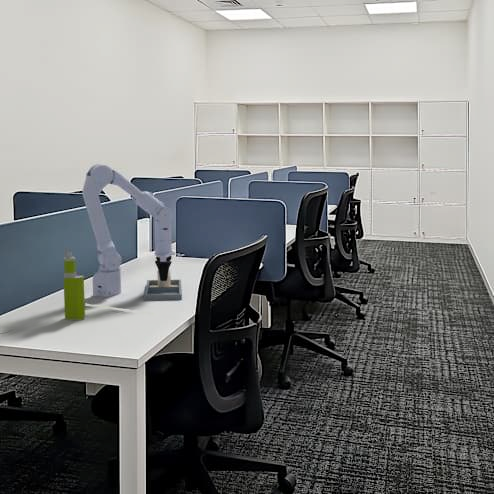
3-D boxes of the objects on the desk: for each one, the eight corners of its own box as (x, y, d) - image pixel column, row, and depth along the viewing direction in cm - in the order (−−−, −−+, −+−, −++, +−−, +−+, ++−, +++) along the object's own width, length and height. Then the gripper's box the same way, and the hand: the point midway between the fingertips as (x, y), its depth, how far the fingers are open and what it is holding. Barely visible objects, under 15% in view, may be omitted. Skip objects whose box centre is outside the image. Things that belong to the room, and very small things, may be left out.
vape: (67, 316, 204) (65, 250, 201) (86, 316, 204) (84, 250, 201) (62, 319, 201) (60, 252, 198) (82, 320, 200) (79, 252, 197)
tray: (181, 301, 223) (181, 294, 223) (144, 302, 222) (144, 295, 221) (181, 286, 247) (180, 279, 246) (147, 286, 245) (147, 280, 245)
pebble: (166, 289, 237) (165, 272, 236) (155, 288, 239) (154, 271, 238) (173, 287, 241) (173, 270, 240) (162, 286, 243) (162, 269, 242)
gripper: (174, 243, 230) (175, 282, 232) (174, 237, 245) (175, 274, 247) (153, 243, 230) (154, 283, 232) (154, 237, 244) (155, 274, 246)
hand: (163, 278), depth 239 cm, fingers open, 7 cm apart
